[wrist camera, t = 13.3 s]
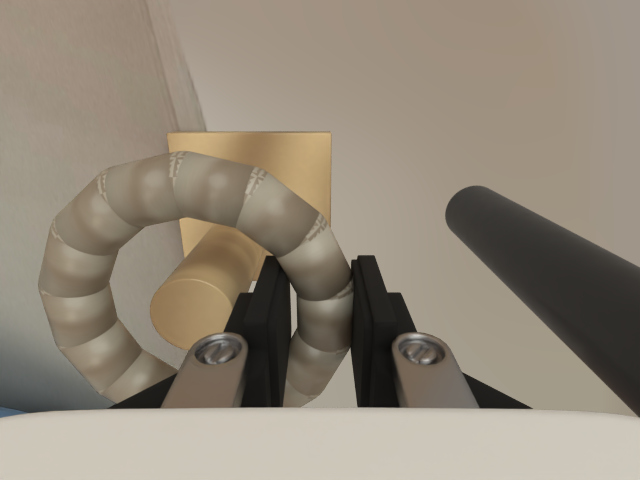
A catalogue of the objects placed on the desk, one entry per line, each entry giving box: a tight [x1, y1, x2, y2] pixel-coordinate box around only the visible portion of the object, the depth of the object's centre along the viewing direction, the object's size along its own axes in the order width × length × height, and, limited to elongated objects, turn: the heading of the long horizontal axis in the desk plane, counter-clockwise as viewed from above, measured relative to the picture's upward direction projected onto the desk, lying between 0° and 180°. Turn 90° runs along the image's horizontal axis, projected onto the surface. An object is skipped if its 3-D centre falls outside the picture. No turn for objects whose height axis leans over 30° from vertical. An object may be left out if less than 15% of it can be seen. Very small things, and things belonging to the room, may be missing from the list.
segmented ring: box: [38, 151, 354, 408], centre depth 12 cm, size 10×10×2 cm
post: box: [150, 132, 331, 350], centre depth 17 cm, size 9×9×12 cm
